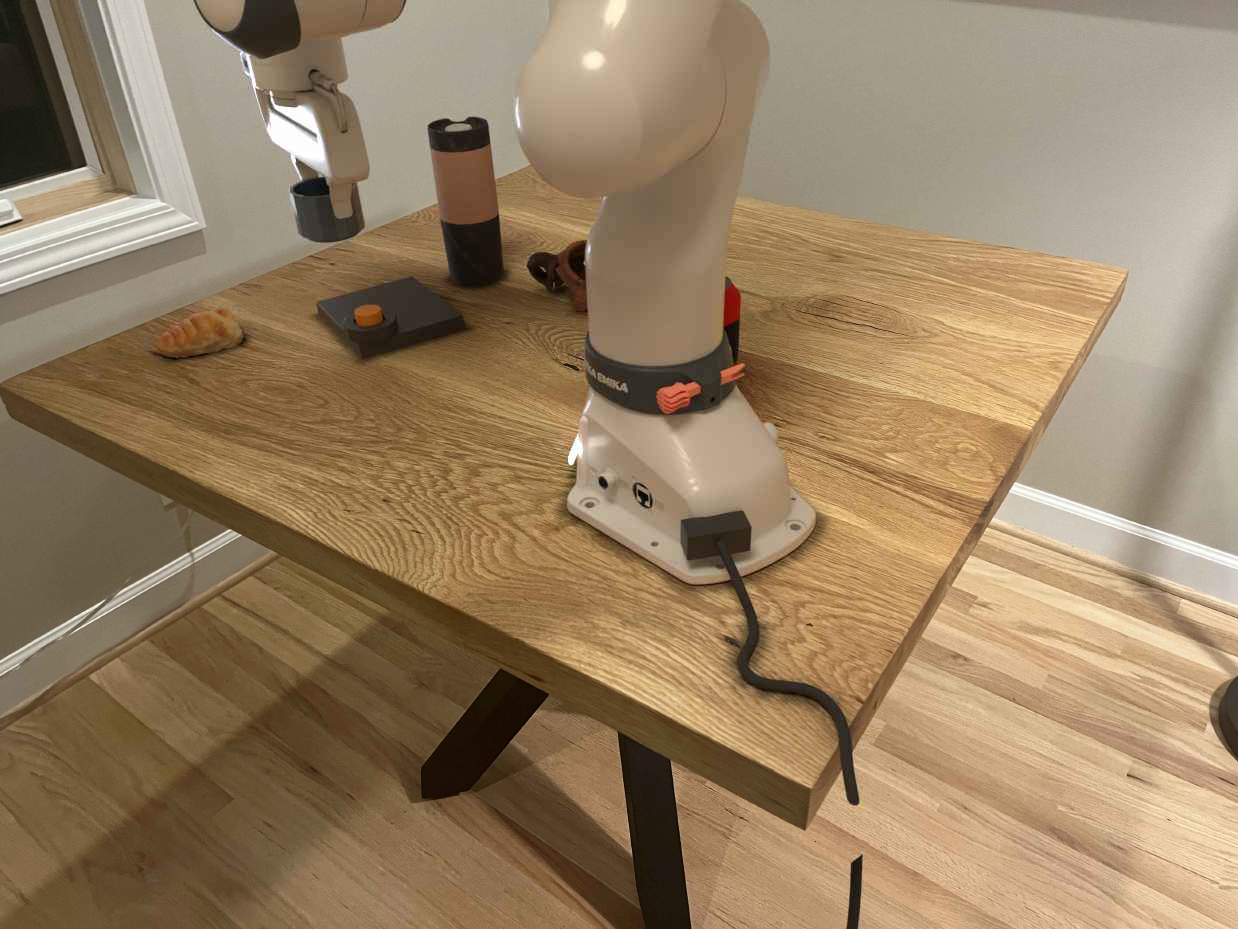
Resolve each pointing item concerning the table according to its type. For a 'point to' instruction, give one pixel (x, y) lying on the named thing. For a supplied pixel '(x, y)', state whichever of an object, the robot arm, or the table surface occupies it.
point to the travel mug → (467, 200)
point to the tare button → (368, 315)
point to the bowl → (324, 212)
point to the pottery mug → (562, 271)
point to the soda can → (732, 317)
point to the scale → (391, 317)
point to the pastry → (200, 334)
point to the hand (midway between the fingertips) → (328, 205)
